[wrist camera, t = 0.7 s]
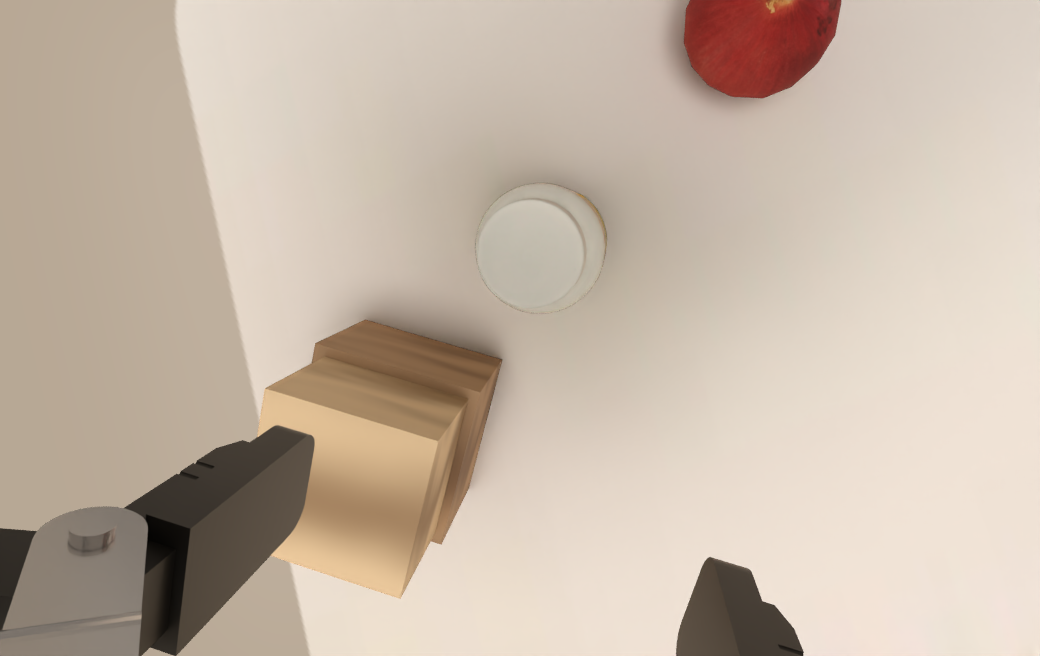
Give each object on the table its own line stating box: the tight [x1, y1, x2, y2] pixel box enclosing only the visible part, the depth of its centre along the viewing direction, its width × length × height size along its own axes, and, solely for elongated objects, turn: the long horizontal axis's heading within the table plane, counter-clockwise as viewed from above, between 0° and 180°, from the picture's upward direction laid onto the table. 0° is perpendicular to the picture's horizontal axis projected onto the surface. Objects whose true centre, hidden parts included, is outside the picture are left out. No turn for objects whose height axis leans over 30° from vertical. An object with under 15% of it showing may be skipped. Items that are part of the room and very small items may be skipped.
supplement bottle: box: [475, 183, 607, 314], centre depth 26 cm, size 5×5×10 cm
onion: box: [684, 0, 841, 98], centre depth 24 cm, size 6×6×8 cm
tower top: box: [257, 357, 468, 598], centre depth 26 cm, size 7×7×5 cm
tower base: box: [312, 320, 502, 544], centre depth 31 cm, size 8×8×6 cm
